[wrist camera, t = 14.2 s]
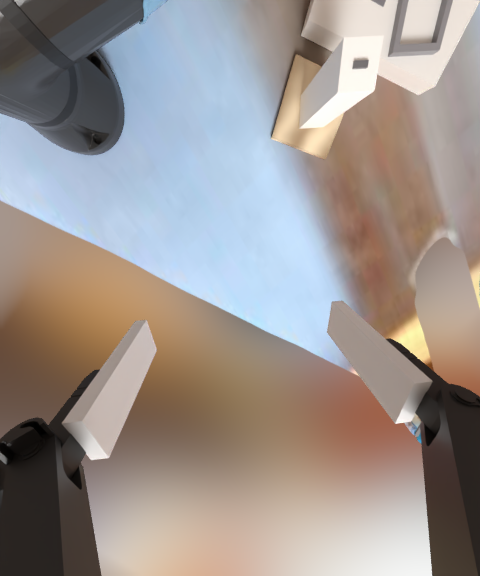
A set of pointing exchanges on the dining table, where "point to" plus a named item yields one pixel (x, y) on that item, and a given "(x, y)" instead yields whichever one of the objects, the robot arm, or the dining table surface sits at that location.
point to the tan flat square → (289, 114)
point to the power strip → (395, 33)
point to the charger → (341, 81)
